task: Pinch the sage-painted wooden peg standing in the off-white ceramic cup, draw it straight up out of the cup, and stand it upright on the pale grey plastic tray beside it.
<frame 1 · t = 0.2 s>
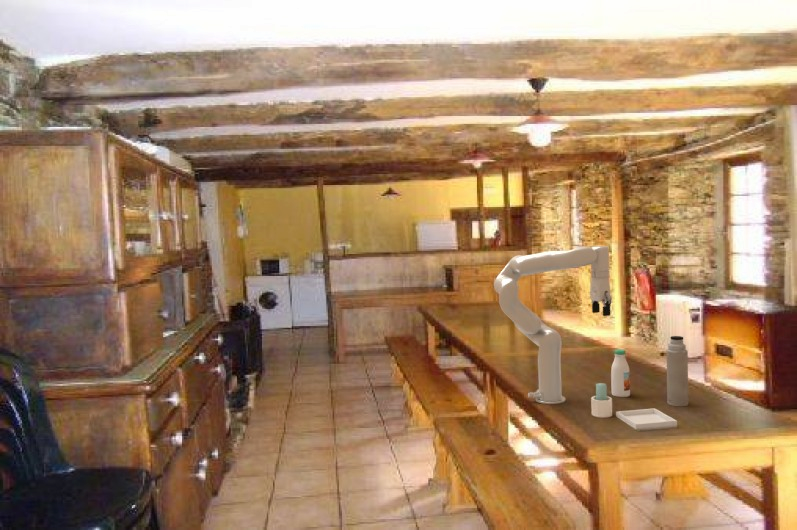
hand: (601, 314, 277), 36 cm above the table, tool pointing down, fingers open, 9 cm apart
cup: (601, 415, 254), on the table
tray: (645, 422, 244), on the table
thermos bottle: (677, 404, 265), on the table
peg: (601, 414, 254), point 1 cm above the table, touching cup
milk bottle: (620, 395, 281), on the table
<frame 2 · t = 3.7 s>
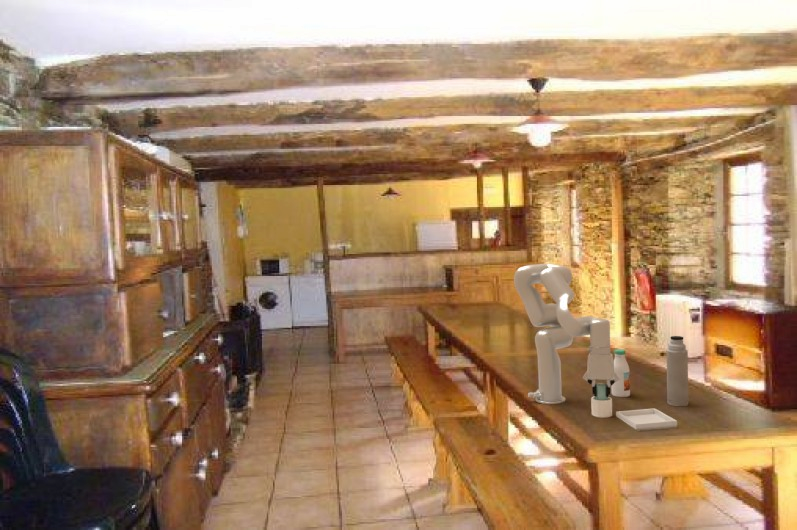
hand: (601, 395, 254), 8 cm above the table, tool pointing down, fingers closed on peg, 4 cm apart
peg: (601, 414, 254), point 1 cm above the table, touching cup, gripper
everything else where it was.
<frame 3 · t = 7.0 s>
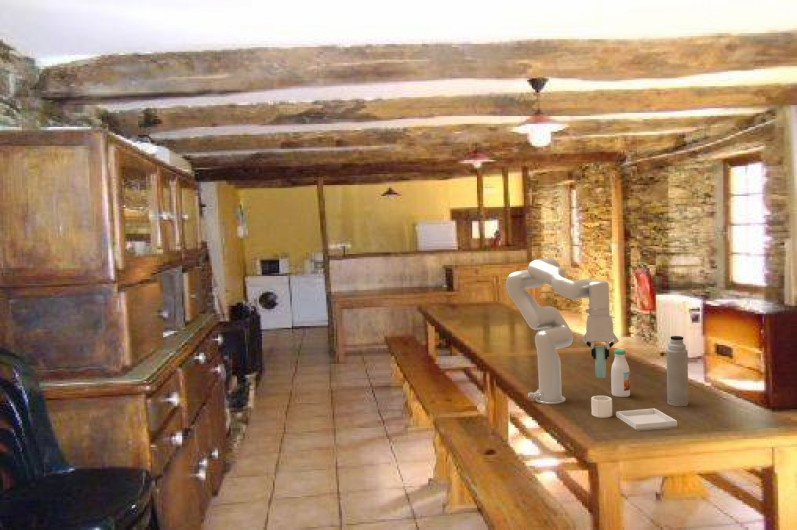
hand: (600, 358, 253), 23 cm above the table, tool pointing down, fingers closed on peg, 4 cm apart
peg: (600, 376, 253), point 16 cm above the table, touching gripper
everything else where it was.
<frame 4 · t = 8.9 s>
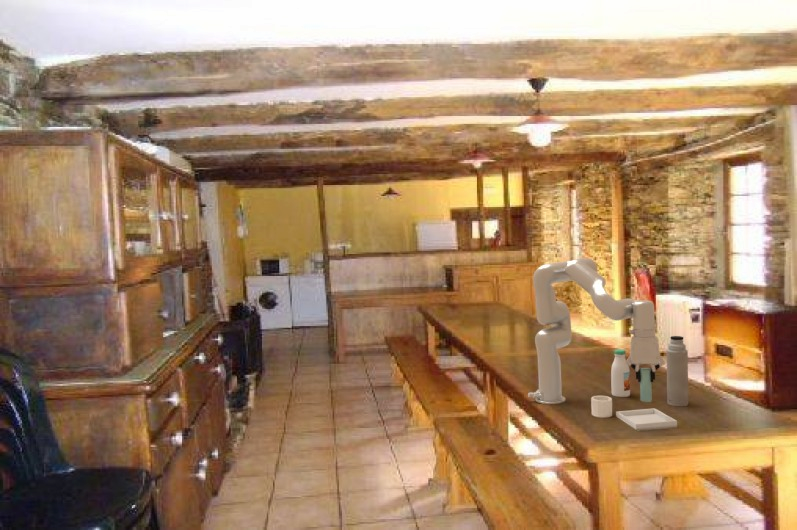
hand: (645, 380, 242), 16 cm above the table, tool pointing down, fingers closed on peg, 4 cm apart
peg: (646, 400, 243), point 9 cm above the table, touching gripper
everything else where it was.
when the fingers open (9 cm above the table, at t = 10.7 s): peg drops 1 cm, resting on tray.
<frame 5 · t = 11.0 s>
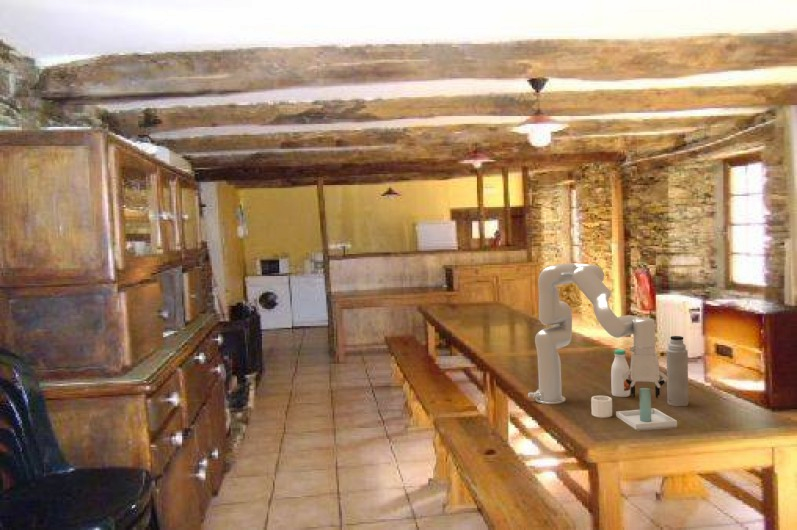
hand: (645, 396, 243), 10 cm above the table, tool pointing down, fingers open, 7 cm apart
peg: (645, 420, 244), point 1 cm above the table, touching tray
everything else where it was.
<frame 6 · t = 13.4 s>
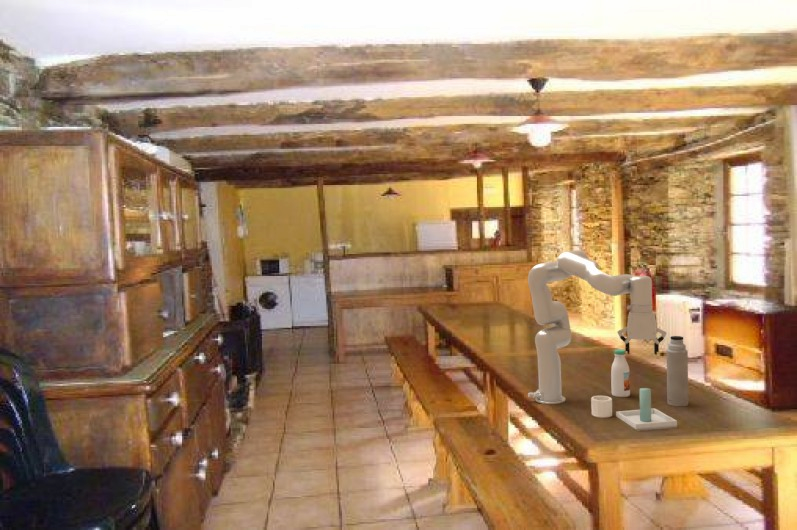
hand: (641, 353, 243), 26 cm above the table, tool pointing down, fingers open, 9 cm apart
nothing on the table moved.
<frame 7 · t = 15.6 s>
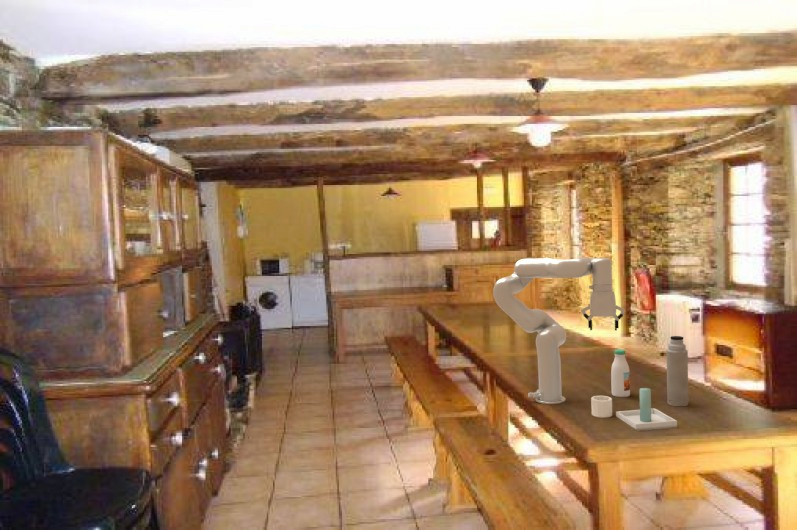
hand: (603, 329, 263), 32 cm above the table, tool pointing down, fingers open, 9 cm apart
nothing on the table moved.
at the end: peg inside the target area on the tray (0.0 cm from its centre), point 0.8 cm above the tray's base; peg tilted 0°; the gripper is holding nothing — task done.
